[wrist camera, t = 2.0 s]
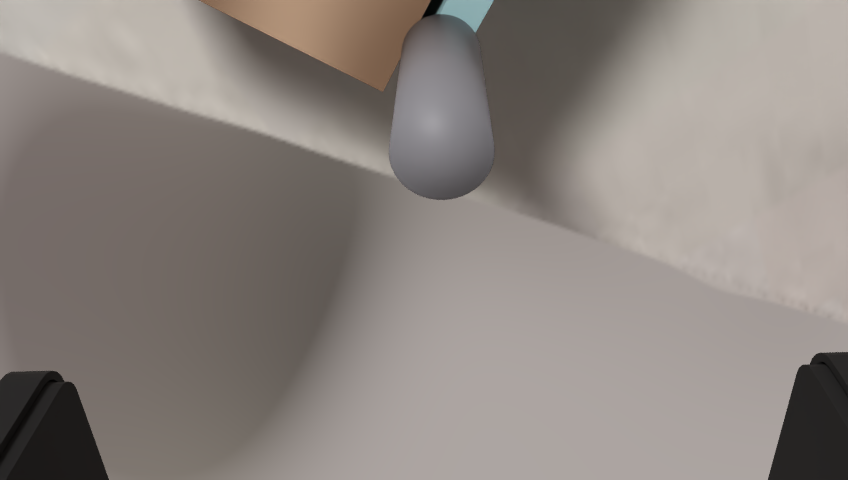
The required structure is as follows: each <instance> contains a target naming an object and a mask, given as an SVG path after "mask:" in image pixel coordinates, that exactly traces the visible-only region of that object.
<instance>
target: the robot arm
mask: <svg viewBox="0 0 848 480" xmlns="http://www.w3.org/2000/svg"><path fill="white" fill-rule="evenodd" d="M0 480H109V479H108V476H107V473H106V470H105V467H104V465H103V462H102V459H101V456H100V454H99V451H98V448H97V445H96V442H95V439H94V437H93V434H92V431H91V428H90V425H89V423H88V420H87V417H86V414H85V411H84V409H83V406H82V403H81V400H80V398H79V395H78V392H77V389H76V387H75V386H74V384H72V383H71V382H64V380H63V378H62V376H61V375H60V374H59V373H58V372H55V371H29V372H28V371H27V372H10V373H8V374H6V375H5V376H4V377H3V378H2V379H1V380H0ZM768 480H848V352H840V353H839V352H838V353H837V352H835V353H818V354H816V355H815V356H814V357H813V358H812V361H811V363H810V365H802V366H801V367H800V368H799V369H798V372H797V375H796V378H795V382H794V386H793V389H792V393H791V397H790V400H789V404H788V408H787V412H786V415H785V419H784V422H783V426H782V430H781V434H780V437H779V441H778V444H777V448H776V452H775V455H774V459H773V463H772V467H771V470H770V474H769V478H768Z"/></svg>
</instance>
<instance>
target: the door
mask: <svg viewBox="0 0 848 480" xmlns="http://www.w3.org/2000/svg"><path fill="white" fill-rule="evenodd" d="M493 1H494V0H431V1H430V3H429V5H428V7H427V9H426V10H425V12H424V14H423V16H422V18H421V20H419V21H418V22H417V23H415V24H414V25H413V26H412V27H411V28H410V30H409V31H408V32H407V34H406V36H405V38H404V41H403V44H402V50H401V58H400V66H399V74H398V82H397V90H396V98H395V105H394V113H393V121H392V129H391V137H390V145H389V159H390V163H391V167H392V169H393V171H394V173H395V175H396V177H397V178H398V179H399V181H400V182H401V183H402V184H403V185H404V186H405V187H406V188H408V189H409V190H411V191H412V192H414V193H416V194H417V195H420V196H423V197H426V198H429V199H436V200H447V199H453V198H458V197H461V196H463V195H465V194H468V193H469V192H471V191H473V190H474V189H476V188H477V187H478V186H479V185H480V184H481V183H482V182H483V181H484V180H485V178H486V177H487V176H488V174H489V172H490V170H491V167H492V165H493V161H494V153H495V151H494V141H493V134H492V127H491V120H490V113H489V105H488V98H487V91H486V84H485V77H484V70H483V63H482V56H481V48H480V43H479V40H478V37H477V35H476V33H475V32H476V31H477V29H478V27H479V25H480V24H481V22H482V20H483V18H484V17H485V15H486V13H487V11H488V10H489V8H490V6H491V4H492V3H493Z"/></svg>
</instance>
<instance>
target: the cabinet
mask: <svg viewBox="0 0 848 480" xmlns="http://www.w3.org/2000/svg"><path fill="white" fill-rule="evenodd" d="M199 1H201V2H203V3H205V4H207V5H209V6H211V7H213V8H215V9H217V10H219V11H221V12H223V13H225V14H227V15H229V16H231V17H233V18H235V19H237V20H239V21H241V22H243V23H245V24H247V25H249V26H251V27H253V28H255V29H257V30H259V31H261V32H263V33H265V34H267V35H269V36H271V37H273V38H275V39H277V40H280V41H282V42H284V43H286V44H288V45H290V46H292V47H294V48H296V49H298V50H300V51H302V52H304V53H306V54H308V55H310V56H312V57H314V58H316V59H318V60H320V61H322V62H324V63H326V64H328V65H330V66H332V67H334V68H336V69H338V70H340V71H342V72H344V73H346V74H348V75H350V76H352V77H354V78H356V79H358V80H360V81H362V82H364V83H366V84H368V85H370V86H372V87H374V88H376V89H378V90H380V91H382V92H383V91H384V89H385V87H386V85H387V83H388V81H389V79H390V77H391V75H392V73H393V71H394V70H395V68H396V66H397V64H398V62H399V60H400V58H401V50H402V44H403V41H404V38H405V36H406V34H407V32H408V31H409V30H410V28H411V27H412V26H413V25H414V24H415V23H417V22H418V21H419V20H421V18H422V16H423V14H424V12H425V10H426V9H427V7H428V5H429V3H430V1H431V0H199Z"/></svg>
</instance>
